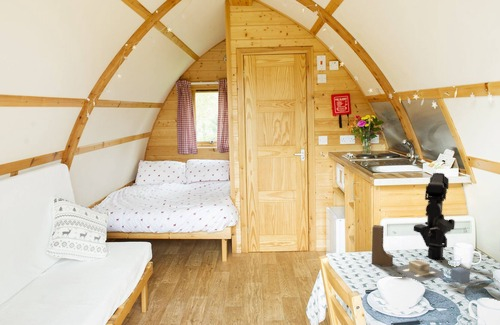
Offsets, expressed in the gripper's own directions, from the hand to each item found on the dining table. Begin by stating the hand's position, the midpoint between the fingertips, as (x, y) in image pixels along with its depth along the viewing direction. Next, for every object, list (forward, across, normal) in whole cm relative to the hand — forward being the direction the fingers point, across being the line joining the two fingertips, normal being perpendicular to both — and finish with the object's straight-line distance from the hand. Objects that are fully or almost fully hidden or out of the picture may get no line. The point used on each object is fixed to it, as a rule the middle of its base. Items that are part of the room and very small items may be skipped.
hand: (433, 245), depth 197 cm
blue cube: (+11, 0, -15) cm, 19 cm away
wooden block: (+11, -16, +15) cm, 25 cm away
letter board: (+11, -8, 0) cm, 14 cm away
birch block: (+11, -8, 0) cm, 13 cm away
